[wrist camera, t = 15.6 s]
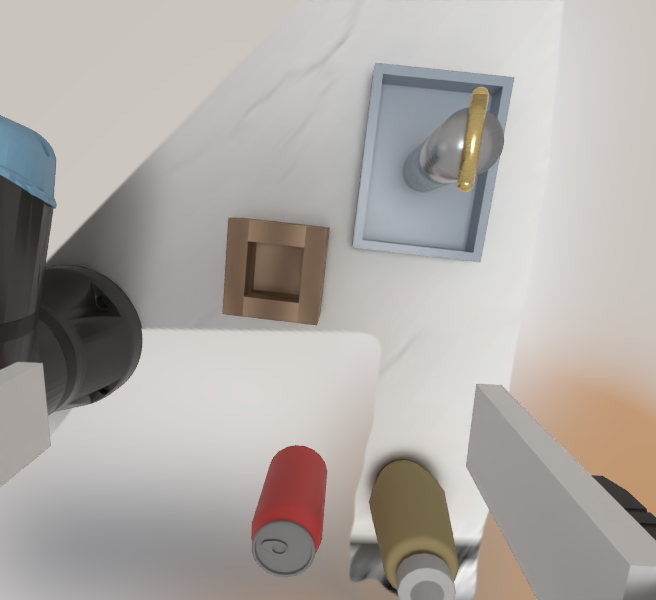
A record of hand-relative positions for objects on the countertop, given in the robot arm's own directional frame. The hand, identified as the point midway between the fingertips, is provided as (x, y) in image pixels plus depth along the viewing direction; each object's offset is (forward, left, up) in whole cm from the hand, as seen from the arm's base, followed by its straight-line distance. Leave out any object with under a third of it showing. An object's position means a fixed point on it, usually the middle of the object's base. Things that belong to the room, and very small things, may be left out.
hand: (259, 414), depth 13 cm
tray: (+9, +11, -31) cm, 34 cm away
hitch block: (-4, 0, -31) cm, 32 cm away
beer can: (0, -23, -32) cm, 39 cm away
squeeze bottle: (+12, -23, -32) cm, 41 cm away
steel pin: (+9, +11, -31) cm, 34 cm away
